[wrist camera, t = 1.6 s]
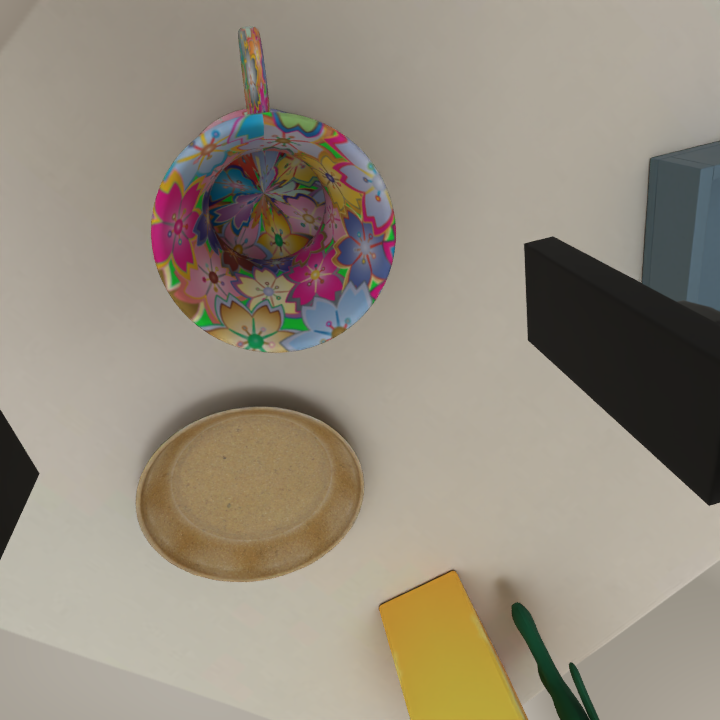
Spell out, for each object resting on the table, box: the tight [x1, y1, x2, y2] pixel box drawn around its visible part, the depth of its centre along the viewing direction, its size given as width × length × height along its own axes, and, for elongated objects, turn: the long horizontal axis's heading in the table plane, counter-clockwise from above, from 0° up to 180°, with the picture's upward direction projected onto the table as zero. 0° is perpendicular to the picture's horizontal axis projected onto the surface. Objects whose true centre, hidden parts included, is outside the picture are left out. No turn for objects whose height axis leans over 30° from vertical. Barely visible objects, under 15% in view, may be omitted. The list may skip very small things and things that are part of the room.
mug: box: [151, 27, 396, 353], centre depth 25 cm, size 12×9×11 cm
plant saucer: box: [136, 406, 364, 582], centre depth 38 cm, size 15×15×3 cm
